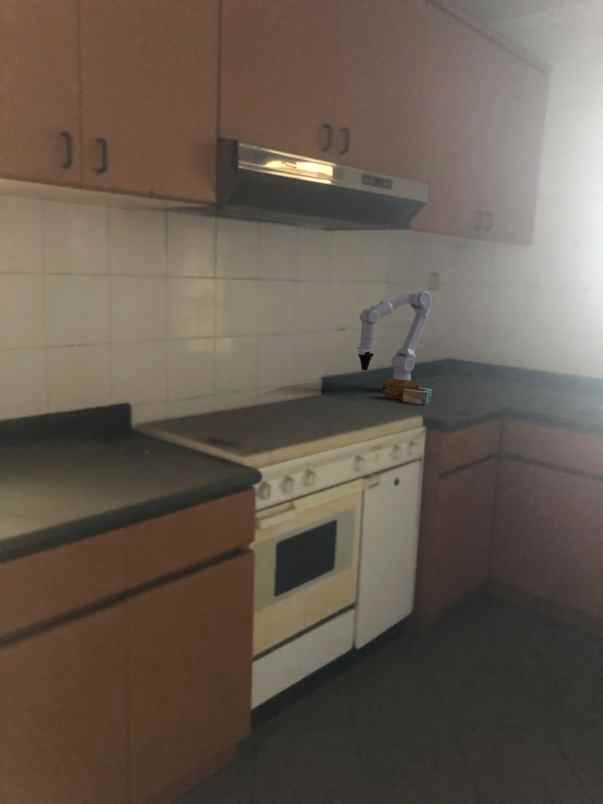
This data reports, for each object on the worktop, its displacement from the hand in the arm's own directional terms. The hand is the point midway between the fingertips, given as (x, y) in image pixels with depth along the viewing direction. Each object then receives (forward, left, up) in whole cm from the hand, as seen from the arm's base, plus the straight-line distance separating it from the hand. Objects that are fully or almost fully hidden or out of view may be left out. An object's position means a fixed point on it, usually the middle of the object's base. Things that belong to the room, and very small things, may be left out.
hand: (364, 370), depth 280 cm
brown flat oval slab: (+4, +17, -10) cm, 20 cm away
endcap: (+4, +24, -9) cm, 26 cm away
